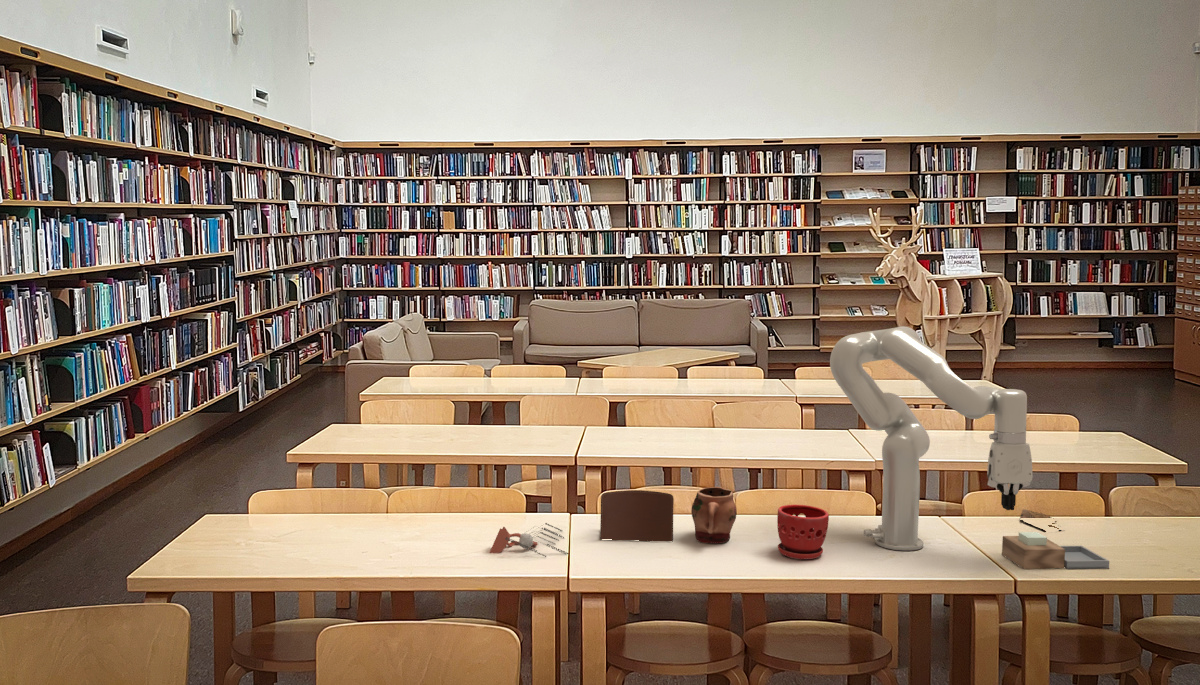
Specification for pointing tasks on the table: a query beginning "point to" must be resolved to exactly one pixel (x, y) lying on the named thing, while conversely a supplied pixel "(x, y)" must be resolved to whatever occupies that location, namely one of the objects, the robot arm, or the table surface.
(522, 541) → the brown and grey pieces
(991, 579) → the table surface
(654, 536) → the letter holder
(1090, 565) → the box
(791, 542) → the plant pot
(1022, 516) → the wooden fragment
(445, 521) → the table surface
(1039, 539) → the tile
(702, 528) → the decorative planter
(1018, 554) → the brown wooden box
